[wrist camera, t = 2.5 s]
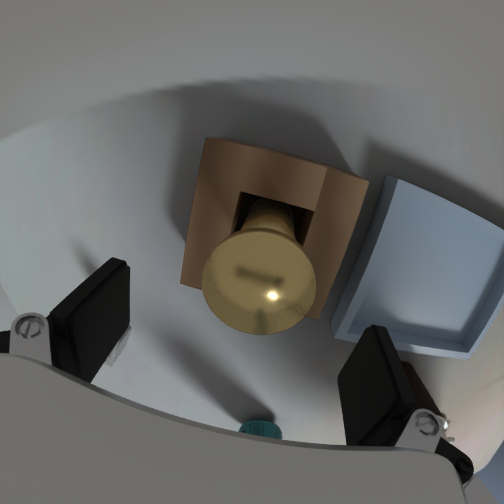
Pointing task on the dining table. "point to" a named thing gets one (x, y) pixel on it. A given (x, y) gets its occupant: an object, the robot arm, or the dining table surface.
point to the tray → (424, 275)
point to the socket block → (277, 188)
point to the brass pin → (260, 273)
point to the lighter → (118, 348)
